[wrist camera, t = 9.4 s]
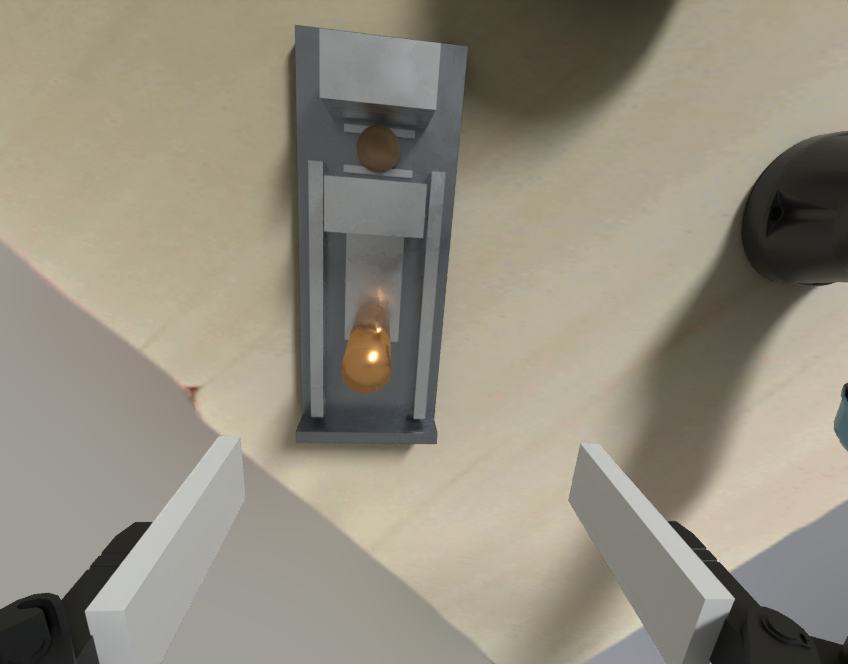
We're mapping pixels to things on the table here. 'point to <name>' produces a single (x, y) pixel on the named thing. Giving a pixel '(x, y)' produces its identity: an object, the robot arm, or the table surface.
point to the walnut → (378, 148)
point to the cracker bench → (326, 251)
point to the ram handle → (372, 267)
